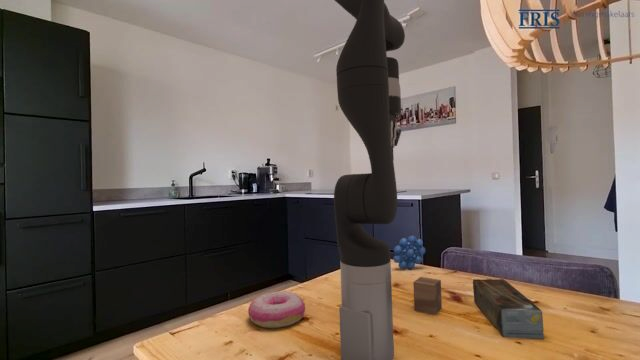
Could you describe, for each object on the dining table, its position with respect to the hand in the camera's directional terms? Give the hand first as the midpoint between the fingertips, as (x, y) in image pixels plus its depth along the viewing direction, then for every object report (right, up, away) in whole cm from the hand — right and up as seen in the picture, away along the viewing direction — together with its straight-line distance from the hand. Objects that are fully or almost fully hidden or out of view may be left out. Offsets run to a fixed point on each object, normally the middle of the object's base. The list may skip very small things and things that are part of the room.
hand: (388, 161), depth 85 cm
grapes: (+13, -37, +28) cm, 48 cm away
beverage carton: (+23, -37, -14) cm, 45 cm away
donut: (-29, -38, -10) cm, 49 cm away
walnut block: (+8, -37, -8) cm, 38 cm away
